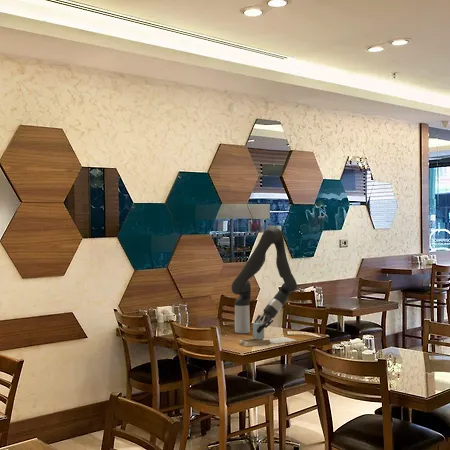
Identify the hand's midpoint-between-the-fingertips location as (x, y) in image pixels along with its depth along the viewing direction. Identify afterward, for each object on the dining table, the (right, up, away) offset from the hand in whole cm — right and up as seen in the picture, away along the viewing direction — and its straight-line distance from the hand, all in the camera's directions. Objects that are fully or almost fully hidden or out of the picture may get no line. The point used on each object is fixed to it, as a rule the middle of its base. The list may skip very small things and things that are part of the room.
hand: (255, 331), depth 330 cm
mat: (+14, -7, +8) cm, 18 cm away
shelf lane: (-1, -7, 0) cm, 7 cm away
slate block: (+2, -4, +1) cm, 5 cm away
